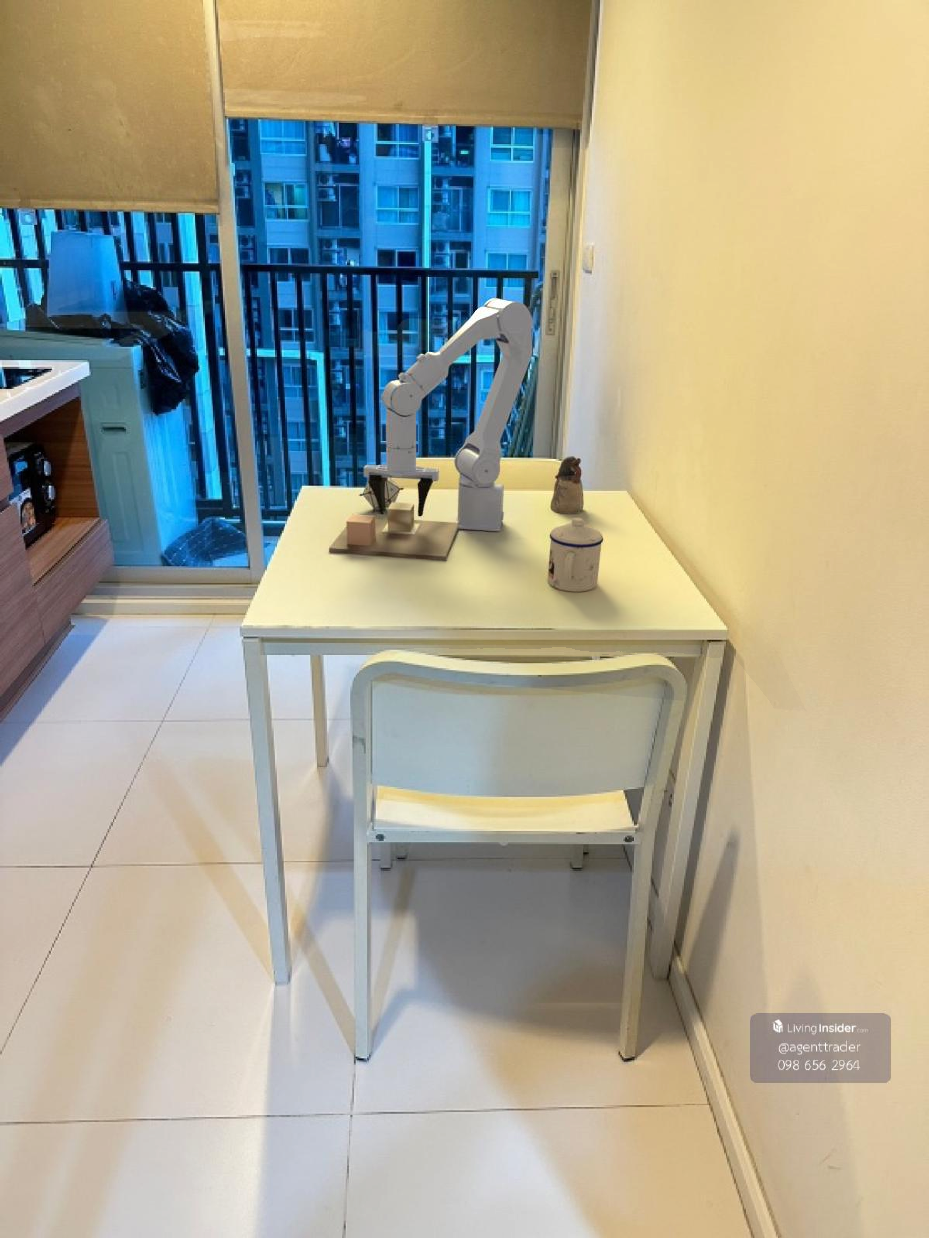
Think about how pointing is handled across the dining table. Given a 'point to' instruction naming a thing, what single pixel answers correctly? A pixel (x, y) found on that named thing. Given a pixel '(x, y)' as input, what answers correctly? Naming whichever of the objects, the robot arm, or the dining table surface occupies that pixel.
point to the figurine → (568, 488)
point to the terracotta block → (361, 529)
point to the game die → (390, 493)
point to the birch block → (400, 517)
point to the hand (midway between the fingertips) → (401, 513)
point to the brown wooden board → (404, 541)
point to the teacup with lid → (574, 557)
